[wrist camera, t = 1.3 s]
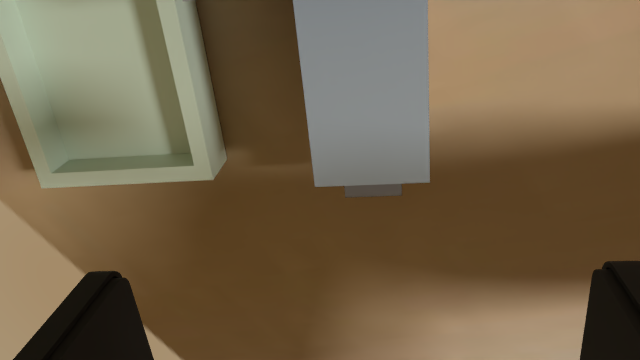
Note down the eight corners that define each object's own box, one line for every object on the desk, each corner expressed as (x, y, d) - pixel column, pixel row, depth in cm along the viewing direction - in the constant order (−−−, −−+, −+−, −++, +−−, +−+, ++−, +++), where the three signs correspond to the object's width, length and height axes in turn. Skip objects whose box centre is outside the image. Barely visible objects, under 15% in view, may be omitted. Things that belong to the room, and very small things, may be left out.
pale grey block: (415, -154, 21) (425, -181, 15) (421, 147, 26) (430, 204, 21) (302, -139, 22) (273, -159, 16) (331, 152, 27) (317, 208, 22)
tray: (152, -213, 21) (124, -230, 19) (227, 159, 28) (213, 179, 25) (-51, -178, 22) (-100, -190, 20) (68, 168, 29) (41, 188, 27)
